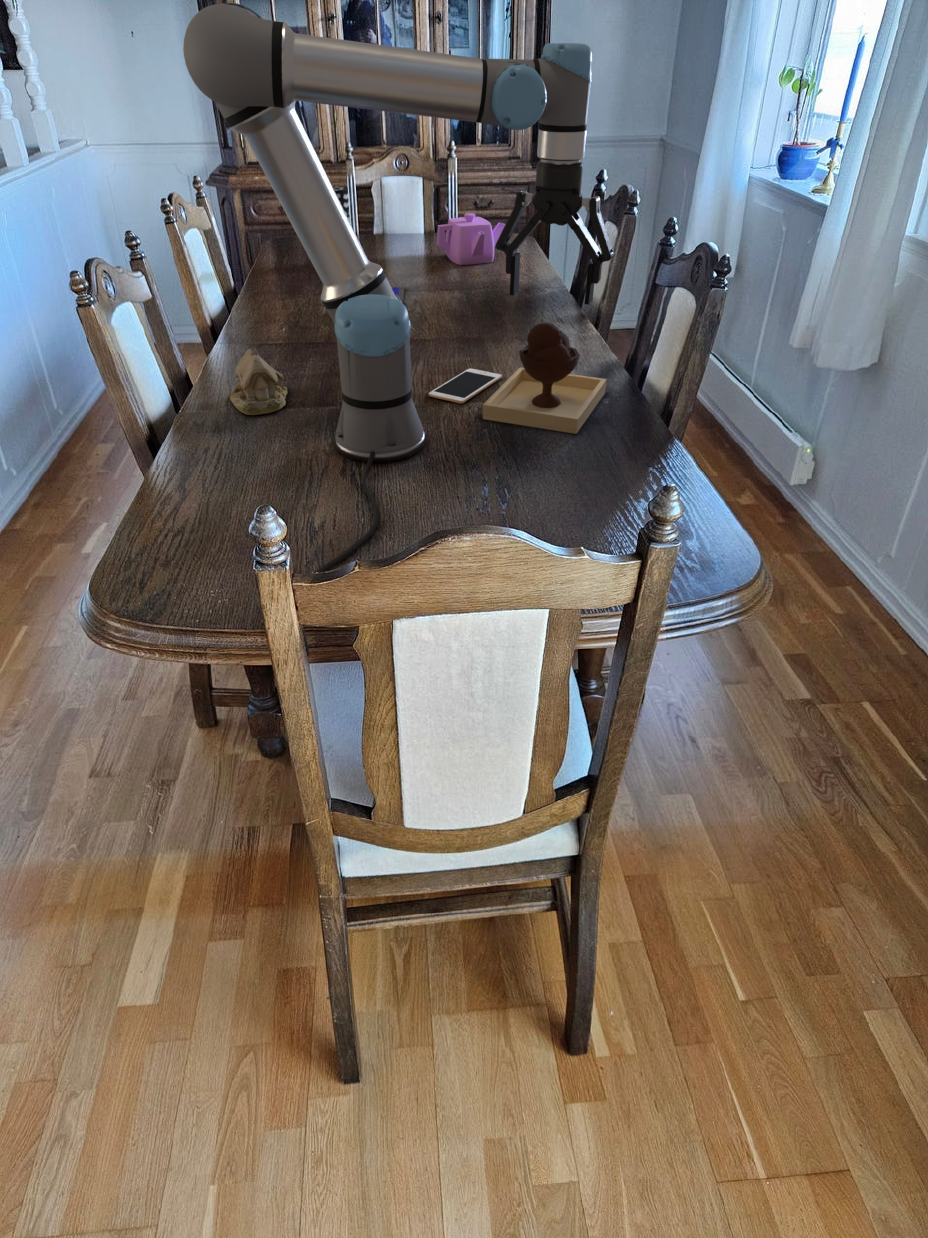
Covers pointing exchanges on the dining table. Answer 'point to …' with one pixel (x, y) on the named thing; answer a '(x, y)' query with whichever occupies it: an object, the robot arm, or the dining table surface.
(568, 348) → the ice cream bowl
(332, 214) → the robot arm
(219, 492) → the dining table surface
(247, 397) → the ceramic model
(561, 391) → the tray
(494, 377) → the cell phone
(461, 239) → the teakettle
